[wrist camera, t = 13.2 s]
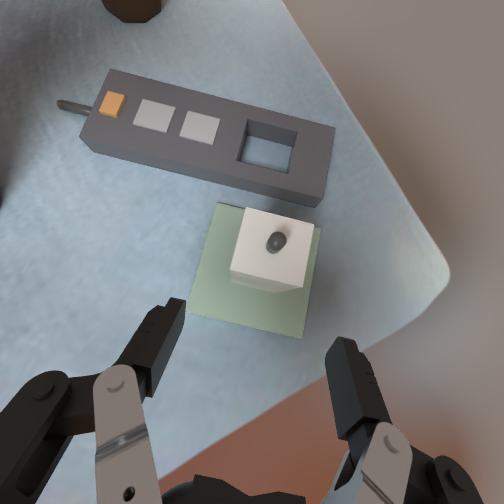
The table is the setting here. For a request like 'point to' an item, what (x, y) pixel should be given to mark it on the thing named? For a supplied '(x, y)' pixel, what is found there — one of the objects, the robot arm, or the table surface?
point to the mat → (239, 296)
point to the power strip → (203, 136)
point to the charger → (271, 252)
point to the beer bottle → (133, 9)
